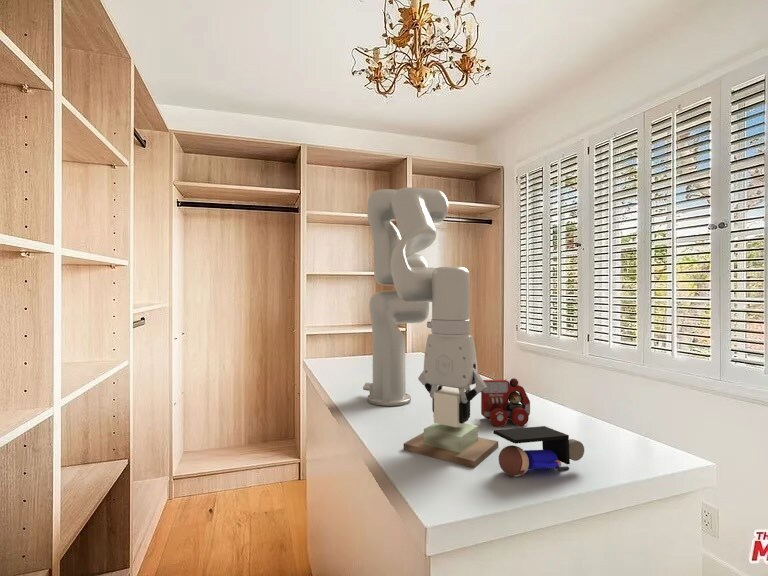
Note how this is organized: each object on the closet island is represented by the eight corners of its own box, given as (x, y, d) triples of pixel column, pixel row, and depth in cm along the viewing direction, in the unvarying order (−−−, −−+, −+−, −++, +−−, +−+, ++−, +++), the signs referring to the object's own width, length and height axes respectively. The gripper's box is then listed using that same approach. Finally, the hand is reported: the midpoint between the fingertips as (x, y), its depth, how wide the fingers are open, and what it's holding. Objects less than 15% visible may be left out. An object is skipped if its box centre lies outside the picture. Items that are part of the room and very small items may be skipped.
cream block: (433, 422, 83) (433, 392, 83) (445, 416, 88) (445, 387, 88) (456, 427, 81) (456, 396, 81) (467, 420, 85) (467, 391, 85)
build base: (403, 449, 83) (403, 428, 83) (432, 432, 93) (432, 413, 93) (474, 467, 75) (474, 444, 75) (498, 447, 84) (498, 426, 85)
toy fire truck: (536, 425, 98) (536, 381, 98) (485, 428, 97) (485, 382, 97) (523, 417, 105) (523, 375, 105) (475, 418, 104) (475, 376, 104)
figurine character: (555, 464, 80) (488, 468, 74) (558, 424, 80) (492, 424, 74) (584, 479, 73) (513, 484, 68) (587, 435, 74) (517, 436, 68)
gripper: (405, 327, 86) (405, 416, 86) (484, 332, 76) (484, 432, 76) (423, 325, 92) (423, 408, 92) (498, 329, 82) (498, 422, 82)
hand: (450, 418), depth 84 cm, fingers closed on cream block, 4 cm apart
